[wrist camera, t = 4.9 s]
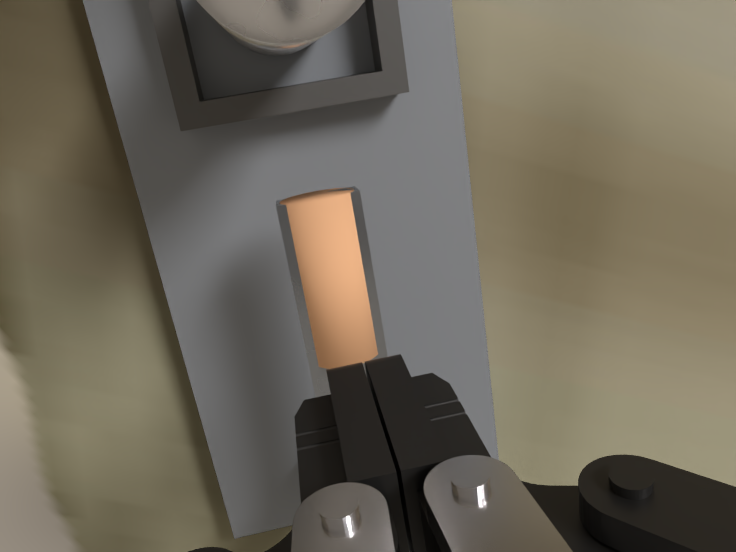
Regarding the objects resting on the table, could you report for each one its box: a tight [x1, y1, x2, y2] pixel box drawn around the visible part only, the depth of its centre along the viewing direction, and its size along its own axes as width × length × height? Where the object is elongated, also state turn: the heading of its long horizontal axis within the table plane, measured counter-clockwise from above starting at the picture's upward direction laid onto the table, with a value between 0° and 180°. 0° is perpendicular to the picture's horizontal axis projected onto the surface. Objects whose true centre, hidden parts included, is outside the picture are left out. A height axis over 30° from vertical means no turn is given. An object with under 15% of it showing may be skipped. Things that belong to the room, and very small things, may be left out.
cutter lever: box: [276, 186, 388, 397], centre depth 21 cm, size 17×2×2 cm, turn 9°
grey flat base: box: [83, 0, 499, 539], centre depth 20 cm, size 30×12×8 cm, turn 9°
